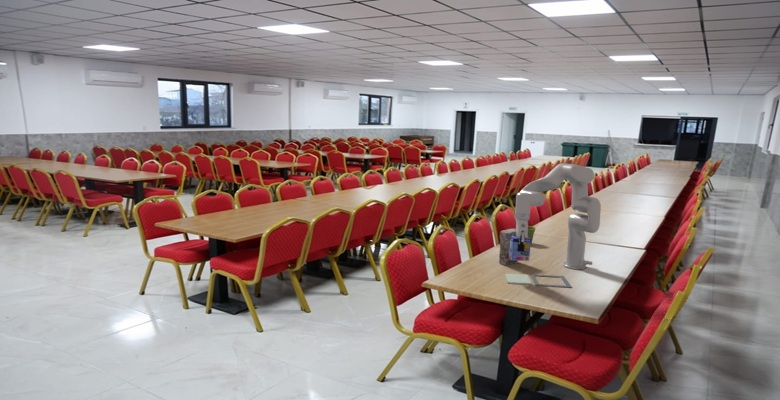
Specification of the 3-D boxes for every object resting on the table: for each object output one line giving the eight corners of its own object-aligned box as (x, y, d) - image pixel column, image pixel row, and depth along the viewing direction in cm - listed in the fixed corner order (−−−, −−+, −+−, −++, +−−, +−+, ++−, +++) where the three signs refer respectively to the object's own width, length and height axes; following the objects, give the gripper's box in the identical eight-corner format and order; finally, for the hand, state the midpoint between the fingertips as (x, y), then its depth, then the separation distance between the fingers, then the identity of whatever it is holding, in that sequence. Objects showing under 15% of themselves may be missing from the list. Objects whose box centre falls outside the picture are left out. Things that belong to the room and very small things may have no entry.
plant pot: (520, 240, 339) (521, 224, 337) (537, 243, 332) (538, 227, 330) (514, 243, 330) (515, 227, 328) (531, 246, 323) (532, 230, 321)
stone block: (507, 266, 277) (510, 232, 274) (497, 263, 282) (499, 230, 278) (519, 261, 286) (521, 229, 283) (509, 259, 291) (511, 227, 288)
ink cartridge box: (511, 261, 249) (513, 233, 246) (508, 258, 254) (510, 231, 252) (530, 261, 249) (532, 234, 247) (526, 258, 255) (528, 231, 253)
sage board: (527, 276, 260) (527, 274, 260) (531, 284, 246) (531, 283, 246) (504, 274, 261) (504, 273, 261) (507, 283, 247) (508, 281, 247)
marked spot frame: (563, 276, 260) (563, 276, 260) (572, 287, 243) (572, 287, 243) (529, 274, 262) (530, 274, 262) (535, 285, 245) (535, 285, 245)
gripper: (532, 219, 239) (529, 254, 242) (526, 213, 256) (524, 245, 259) (517, 219, 240) (514, 253, 243) (512, 212, 257) (510, 245, 260)
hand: (519, 249), depth 251 cm, fingers closed on ink cartridge box, 6 cm apart
